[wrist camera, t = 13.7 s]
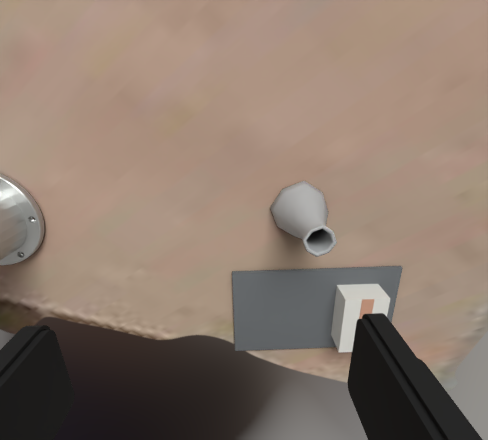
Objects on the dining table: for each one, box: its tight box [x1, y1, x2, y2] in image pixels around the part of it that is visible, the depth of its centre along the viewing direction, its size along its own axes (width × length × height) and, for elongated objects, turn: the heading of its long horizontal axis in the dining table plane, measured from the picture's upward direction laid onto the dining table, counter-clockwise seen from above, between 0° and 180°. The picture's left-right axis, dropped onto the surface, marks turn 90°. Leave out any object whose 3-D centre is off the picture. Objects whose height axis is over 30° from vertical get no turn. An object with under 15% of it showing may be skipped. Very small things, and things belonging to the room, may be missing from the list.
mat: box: [232, 266, 402, 351], centre depth 43 cm, size 24×14×1 cm, turn 91°
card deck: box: [331, 284, 390, 352], centre depth 41 cm, size 9×6×4 cm, turn 1°
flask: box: [270, 181, 337, 257], centre depth 33 cm, size 7×7×10 cm
